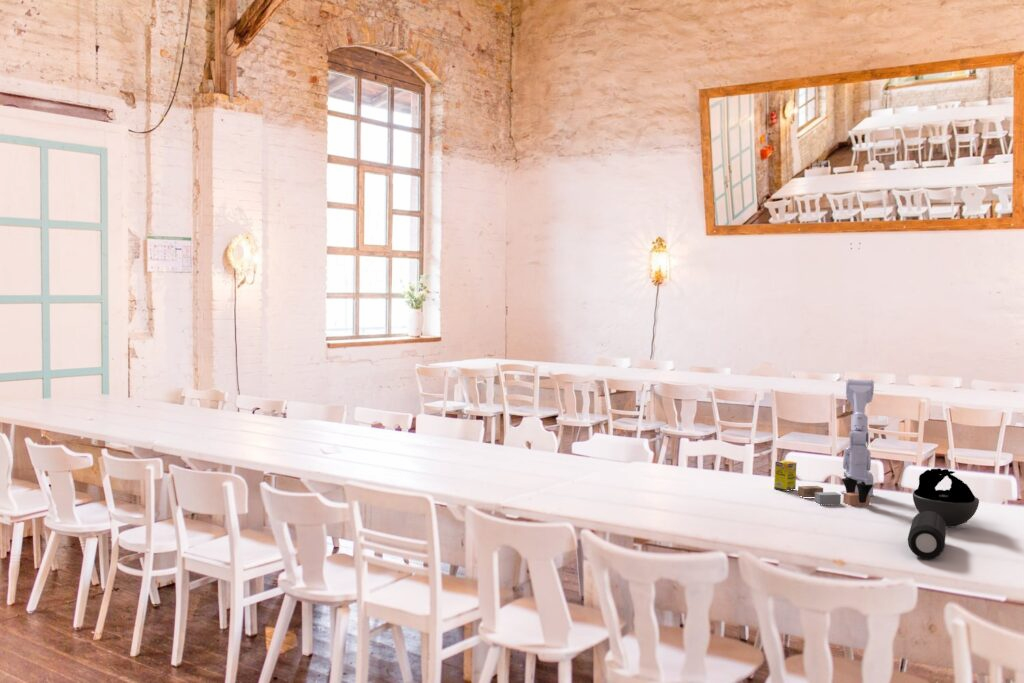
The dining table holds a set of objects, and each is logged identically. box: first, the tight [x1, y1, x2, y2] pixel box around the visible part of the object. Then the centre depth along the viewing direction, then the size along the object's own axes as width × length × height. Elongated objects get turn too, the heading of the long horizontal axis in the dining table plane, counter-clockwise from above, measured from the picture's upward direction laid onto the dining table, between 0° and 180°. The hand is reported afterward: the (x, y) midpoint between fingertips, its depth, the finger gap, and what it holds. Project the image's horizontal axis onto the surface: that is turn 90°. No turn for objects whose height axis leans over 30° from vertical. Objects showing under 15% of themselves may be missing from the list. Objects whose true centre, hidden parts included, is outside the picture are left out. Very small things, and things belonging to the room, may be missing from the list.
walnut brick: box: [797, 485, 824, 497], centre depth 350 cm, size 8×4×4 cm, turn 103°
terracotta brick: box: [842, 492, 871, 506], centre depth 340 cm, size 8×4×4 cm, turn 102°
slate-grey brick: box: [814, 491, 842, 506], centre depth 339 cm, size 8×4×4 cm, turn 99°
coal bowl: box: [912, 468, 980, 528], centre depth 309 cm, size 20×20×19 cm
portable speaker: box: [907, 511, 947, 560], centre depth 280 cm, size 26×10×10 cm, turn 154°
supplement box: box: [773, 459, 797, 491], centre depth 362 cm, size 6×6×11 cm
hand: (856, 500), depth 340 cm, fingers open, 7 cm apart
